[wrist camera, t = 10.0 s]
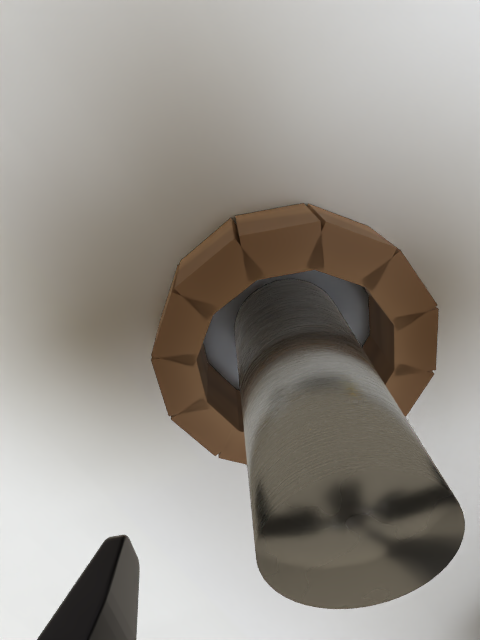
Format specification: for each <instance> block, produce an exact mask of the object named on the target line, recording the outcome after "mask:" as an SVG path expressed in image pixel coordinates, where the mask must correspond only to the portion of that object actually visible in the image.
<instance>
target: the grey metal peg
mask: <svg viewBox="0 0 480 640" xmlns="http://www.w3.org/2000/svg"><path fill="white" fill-rule="evenodd" d="M235 342H236V352H237V363H238V373H239V384H240V394H241V405H242V415H243V426H244V436H245V447H246V457H247V467H248V478H249V488H250V499H251V509H252V520H253V530H254V541H255V551H256V560H257V565H258V568H259V571H260V573H261V575H262V576H263V578H264V580H265V581H266V582H267V583H268V584H269V585H270V586H271V587H272V588H273V589H274V590H275V591H277V592H278V593H279V594H281V595H283V596H284V597H286V598H288V599H291V600H293V601H295V602H298V603H301V604H304V605H308V606H313V607H319V608H327V609H352V608H360V607H366V606H372V605H376V604H380V603H384V602H387V601H390V600H393V599H396V598H399V597H401V596H403V595H406V594H408V593H410V592H412V591H414V590H416V589H417V588H419V587H421V586H423V585H424V584H426V583H427V582H429V581H430V580H432V579H433V578H434V577H435V576H436V575H438V574H439V573H440V572H441V571H442V570H443V569H444V568H445V567H446V566H447V565H448V564H449V563H450V561H451V560H452V559H453V557H454V556H455V554H456V553H457V551H458V549H459V547H460V545H461V542H462V540H463V535H464V530H465V521H464V516H463V511H462V509H461V507H460V505H459V503H458V501H457V500H456V498H455V496H454V495H453V493H452V492H451V490H450V488H449V487H448V485H447V483H446V482H445V480H444V479H443V477H442V475H441V474H440V472H439V471H438V469H437V467H436V466H435V464H434V463H433V461H432V459H431V458H430V456H429V455H428V453H427V451H426V450H425V448H424V447H423V445H422V443H421V442H420V440H419V439H418V437H417V435H416V434H415V432H414V430H413V429H412V427H411V426H410V424H409V422H408V421H407V419H406V418H405V416H404V414H403V413H402V411H401V410H400V408H399V406H398V405H397V403H396V402H395V400H394V398H393V397H392V395H391V394H390V392H389V390H388V389H387V387H386V386H385V384H384V382H383V381H382V379H381V377H380V376H379V374H378V373H377V371H376V369H375V368H374V366H373V365H372V363H371V361H370V360H369V358H368V357H367V355H366V353H365V352H364V350H363V349H362V347H361V345H360V344H359V342H358V341H357V339H356V337H355V336H354V334H353V333H352V331H351V329H350V328H349V326H348V324H347V323H346V321H345V320H344V318H343V316H342V315H341V313H340V312H339V310H338V308H337V307H336V305H335V304H334V302H333V301H332V299H331V298H330V296H329V295H328V294H327V293H326V292H325V291H323V290H322V289H321V288H319V287H318V286H316V285H314V284H312V283H309V282H306V281H302V280H295V279H287V280H279V281H275V282H272V283H269V284H267V285H265V286H263V287H261V288H259V289H258V290H256V291H255V292H253V293H252V294H251V295H250V296H249V297H248V298H247V299H246V300H245V302H244V303H243V305H242V306H241V308H240V310H239V312H238V314H237V317H236V321H235Z"/></svg>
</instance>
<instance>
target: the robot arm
mask: <svg viewBox="0 0 480 640" xmlns="http://www.w3.org/2000/svg"><path fill="white" fill-rule="evenodd" d="M138 592H139V560H138V557H137V555H136V553H135V550H134V548H133V546H132V544H131V541H130V539H129V538H128V536H126V535H119V536H113V537H109V538H107V539H106V540H105V541H104V542H103V544H102V545H101V547H100V548H99V550H98V551H97V552H96V554H95V555H94V557H93V558H92V560H91V561H90V563H89V564H88V566H87V567H86V569H85V570H84V572H83V573H82V574H81V576H80V577H79V579H78V580H77V582H76V583H75V585H74V586H73V588H72V589H71V591H70V592H69V593H68V595H67V596H66V598H65V599H64V601H63V602H62V604H61V605H60V607H59V608H58V610H57V611H56V613H55V614H54V615H53V617H52V618H51V620H50V621H49V623H48V624H47V626H46V627H45V629H44V630H43V632H42V633H41V634H40V636H39V637H38V639H37V640H136V634H137V613H138Z"/></svg>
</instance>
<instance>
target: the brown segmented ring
mask: <svg viewBox="0 0 480 640" xmlns="http://www.w3.org/2000/svg"><path fill="white" fill-rule="evenodd" d="M235 217H236V223H237V224H236V223H235V222H234V221H233V220H232V219H231V218H230V219H229V220H228V221H227V222H225V223H224V224H223V225H222V226H221V227H220V228H218V229H217V230H216V231H215V232H214V233H212V234H211V235H210V236H209V237H208V238H207V239H205V240H204V241H203V242H202V243H201V244H200V245H198V246H197V247H196V248H195V249H194V250H193V251H191V252H190V253H189V254H188V255H187V256H186V257H184V258H183V259H182V260H181V261H180V265H178V266H177V269H176V272H175V275H174V278H173V281H172V285H171V288H170V291H169V294H168V297H167V300H166V303H165V306H164V310H163V313H162V316H161V319H160V323H159V327H158V331H157V334H156V338H155V342H154V346H153V350H152V354H151V356H152V359H151V361H152V364H153V368H154V371H155V374H156V377H157V380H158V384H159V387H160V390H161V393H162V396H163V399H164V403H165V406H166V409H167V412H168V415H169V416H171V420H172V421H174V422H175V423H176V424H177V425H178V426H180V427H181V428H182V429H183V430H184V431H186V432H187V433H188V434H189V435H190V436H192V437H193V438H194V439H195V440H196V441H198V442H199V443H200V444H201V445H202V446H204V447H205V448H206V449H207V450H208V451H210V452H211V453H212V454H213V455H214V456H216V455H217V454H219V458H221V459H226V460H230V461H234V462H239V463H243V464H247V457H246V447H245V436H244V426H243V415H242V405H241V394H240V390H236V389H235V388H234V387H233V386H232V385H231V384H230V383H229V382H228V381H226V380H225V379H224V378H223V377H222V376H221V375H220V374H219V373H218V372H217V371H216V370H215V369H214V368H213V367H212V366H211V365H210V364H209V363H208V361H207V357H206V353H205V349H204V345H203V341H204V338H205V335H206V333H207V330H208V327H209V325H210V322H211V319H212V317H213V314H215V313H216V312H217V311H219V310H220V309H221V308H222V307H224V306H225V305H226V304H227V303H229V302H230V301H231V300H232V299H234V298H235V297H236V296H238V295H239V294H240V293H241V292H243V291H244V290H245V289H246V288H248V287H249V286H250V285H251V284H253V283H254V282H255V281H257V280H260V279H266V278H271V277H277V276H282V275H288V274H294V273H299V272H305V271H310V270H317V271H320V272H323V273H326V274H329V275H332V276H334V277H337V278H340V279H343V280H346V281H349V282H352V283H355V284H358V285H360V286H363V288H364V289H365V290H366V292H367V293H368V296H369V324H370V335H369V337H368V339H367V340H366V342H365V344H364V346H363V347H362V349H363V350H364V352H365V353H366V355H367V357H368V358H369V360H370V361H371V363H372V365H373V366H374V368H375V369H376V371H377V373H378V374H379V376H380V377H381V379H382V381H383V382H384V384H385V386H386V387H387V389H388V390H389V392H390V394H391V395H392V397H393V398H394V400H395V402H396V403H397V405H398V406H399V408H400V410H401V411H402V413H403V414H404V416H405V417H406V416H407V414H408V413H409V411H410V410H411V408H412V407H413V405H414V404H415V402H416V401H417V399H418V398H419V396H420V395H421V393H422V392H423V390H424V389H425V387H426V386H427V384H428V383H429V381H430V380H431V378H432V377H433V375H434V373H433V372H432V370H436V354H437V333H438V312H439V309H438V308H437V307H436V306H437V304H436V302H435V301H434V299H433V298H432V296H431V295H430V293H429V292H428V290H427V289H426V287H425V286H424V284H423V283H422V281H421V280H420V278H419V277H418V275H417V274H416V272H415V271H414V270H413V268H412V267H411V265H410V264H409V262H408V261H407V259H406V258H405V256H404V255H403V253H402V252H401V251H400V250H399V249H398V248H397V247H395V246H394V245H393V244H391V243H390V242H389V241H387V240H386V239H385V238H383V237H382V236H381V235H379V234H378V233H377V232H375V231H374V230H373V229H371V228H370V227H369V226H366V225H364V224H361V223H358V222H356V221H353V220H350V219H348V218H345V217H342V216H340V215H337V214H335V213H332V212H329V211H327V210H324V209H321V208H319V207H316V206H313V205H311V204H308V205H307V206H306V205H305V204H304V203H302V204H296V205H291V206H285V207H280V208H275V209H269V210H264V211H258V212H253V213H248V214H242V215H237V216H235Z"/></svg>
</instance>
